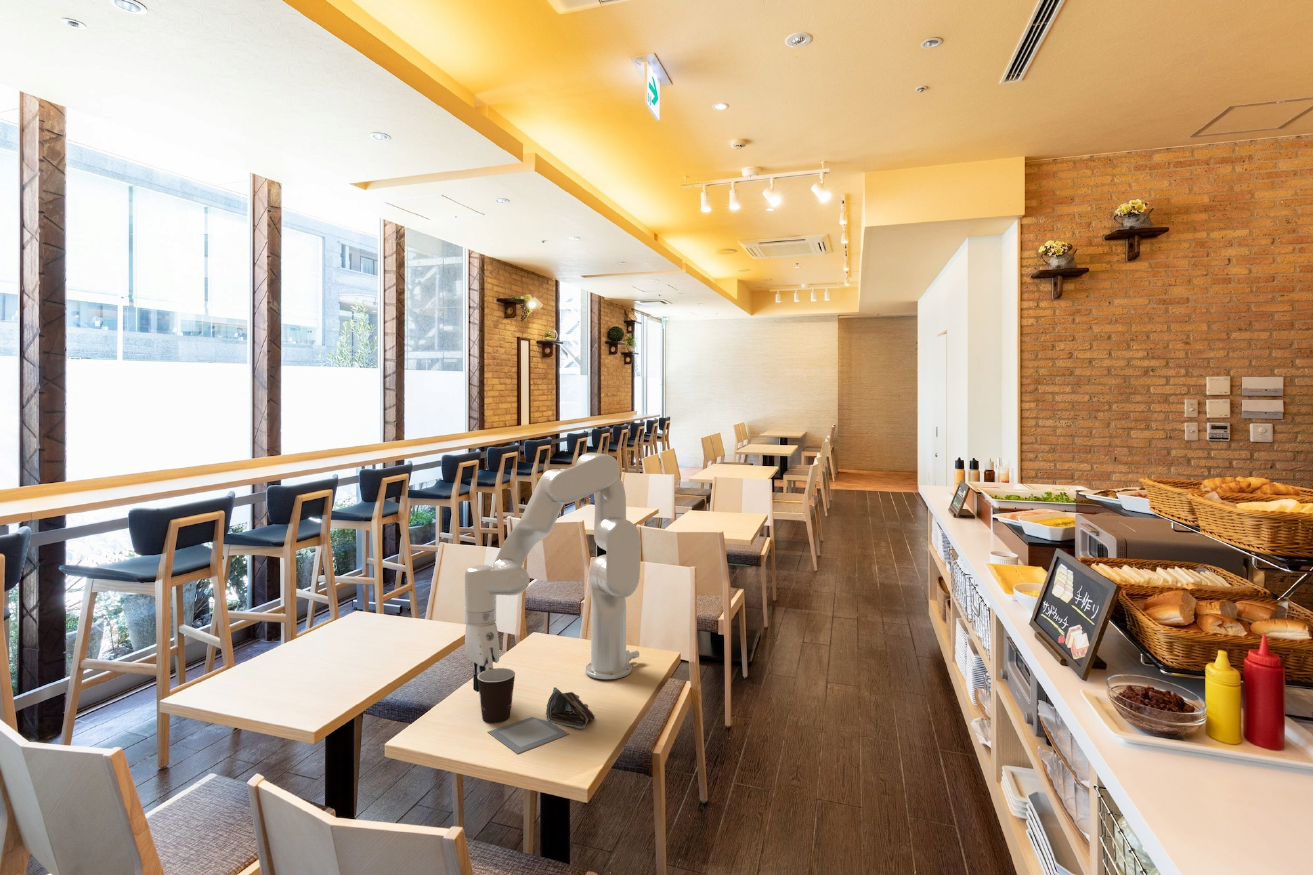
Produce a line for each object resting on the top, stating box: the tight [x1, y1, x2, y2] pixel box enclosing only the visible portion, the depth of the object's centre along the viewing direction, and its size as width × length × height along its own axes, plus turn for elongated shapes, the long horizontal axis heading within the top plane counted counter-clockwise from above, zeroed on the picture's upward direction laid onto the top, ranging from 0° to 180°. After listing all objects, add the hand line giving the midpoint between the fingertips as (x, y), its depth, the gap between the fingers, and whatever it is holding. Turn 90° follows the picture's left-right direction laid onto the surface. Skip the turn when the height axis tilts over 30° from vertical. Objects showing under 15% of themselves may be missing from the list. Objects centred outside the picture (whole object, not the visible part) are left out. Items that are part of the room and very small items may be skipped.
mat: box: [487, 716, 570, 755], centre depth 142 cm, size 13×13×1 cm
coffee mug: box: [477, 667, 516, 724], centre depth 152 cm, size 12×9×10 cm
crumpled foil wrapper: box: [545, 687, 595, 730], centre depth 149 cm, size 10×7×12 cm
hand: (480, 689), depth 159 cm, fingers closed
